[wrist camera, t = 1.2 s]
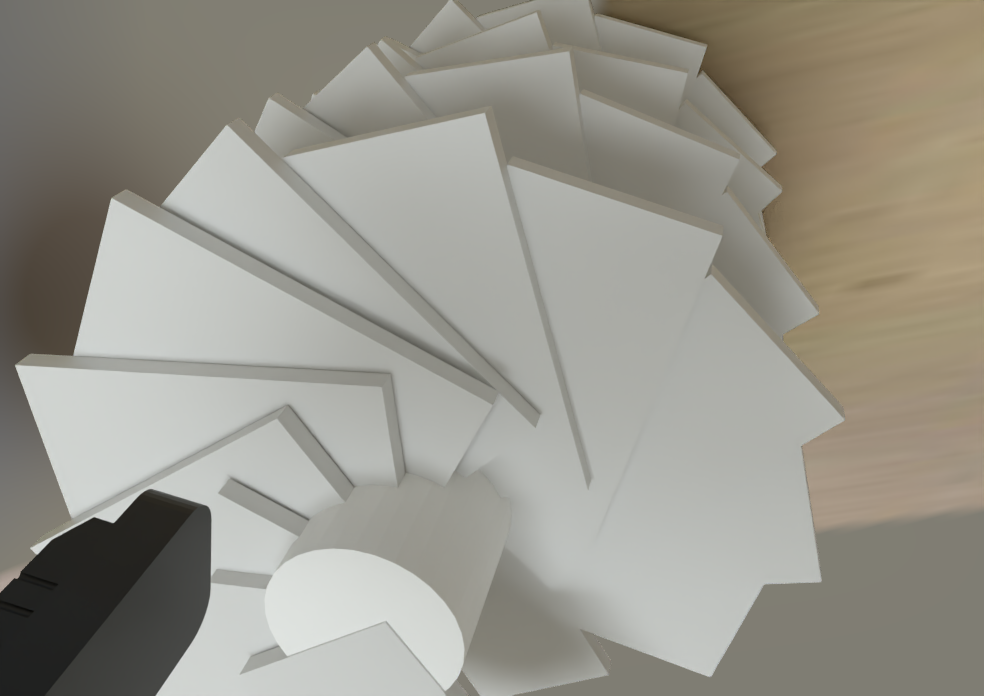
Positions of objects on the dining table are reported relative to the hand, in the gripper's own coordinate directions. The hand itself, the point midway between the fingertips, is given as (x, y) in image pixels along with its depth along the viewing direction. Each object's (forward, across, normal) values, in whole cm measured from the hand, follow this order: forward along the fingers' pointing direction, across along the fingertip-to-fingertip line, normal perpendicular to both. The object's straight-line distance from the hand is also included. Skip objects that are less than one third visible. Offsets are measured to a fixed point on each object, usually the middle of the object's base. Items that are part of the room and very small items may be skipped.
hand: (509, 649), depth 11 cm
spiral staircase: (+29, +3, +5) cm, 30 cm away
